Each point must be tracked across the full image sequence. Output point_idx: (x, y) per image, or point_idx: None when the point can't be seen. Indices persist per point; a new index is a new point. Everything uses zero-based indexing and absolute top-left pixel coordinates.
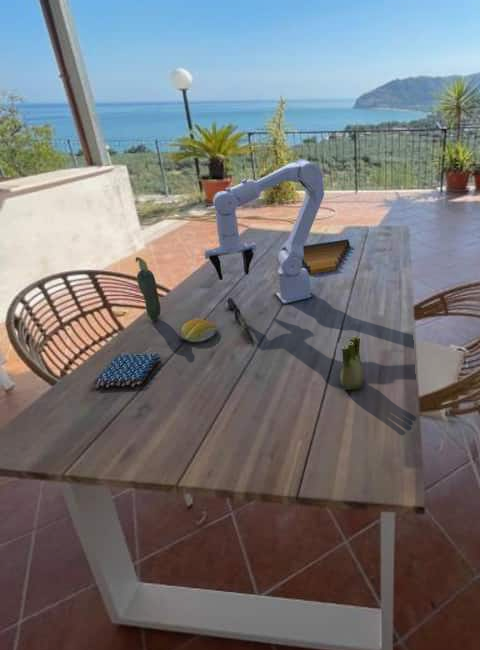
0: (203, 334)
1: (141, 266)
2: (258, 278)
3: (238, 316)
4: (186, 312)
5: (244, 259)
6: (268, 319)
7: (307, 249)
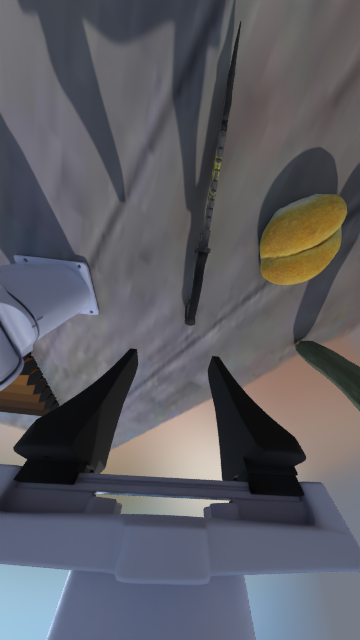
0: (321, 195)
1: None
2: None
3: (208, 228)
4: (252, 338)
5: (112, 411)
6: (137, 209)
7: (22, 405)
